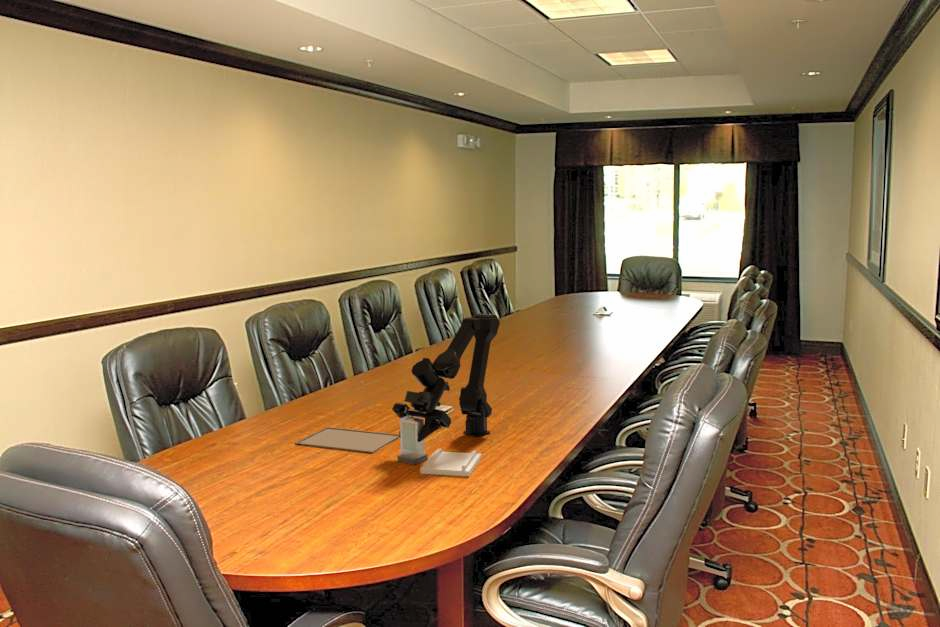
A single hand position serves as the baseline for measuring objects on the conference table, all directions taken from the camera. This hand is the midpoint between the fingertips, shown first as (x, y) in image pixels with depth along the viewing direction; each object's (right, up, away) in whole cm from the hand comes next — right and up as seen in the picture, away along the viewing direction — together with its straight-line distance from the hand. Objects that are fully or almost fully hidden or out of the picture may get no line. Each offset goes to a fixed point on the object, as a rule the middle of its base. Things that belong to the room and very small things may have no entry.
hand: (409, 439), depth 244 cm
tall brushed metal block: (+1, -6, +2) cm, 7 cm away
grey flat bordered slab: (-21, -4, +23) cm, 31 cm away
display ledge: (+12, -7, -4) cm, 15 cm away
